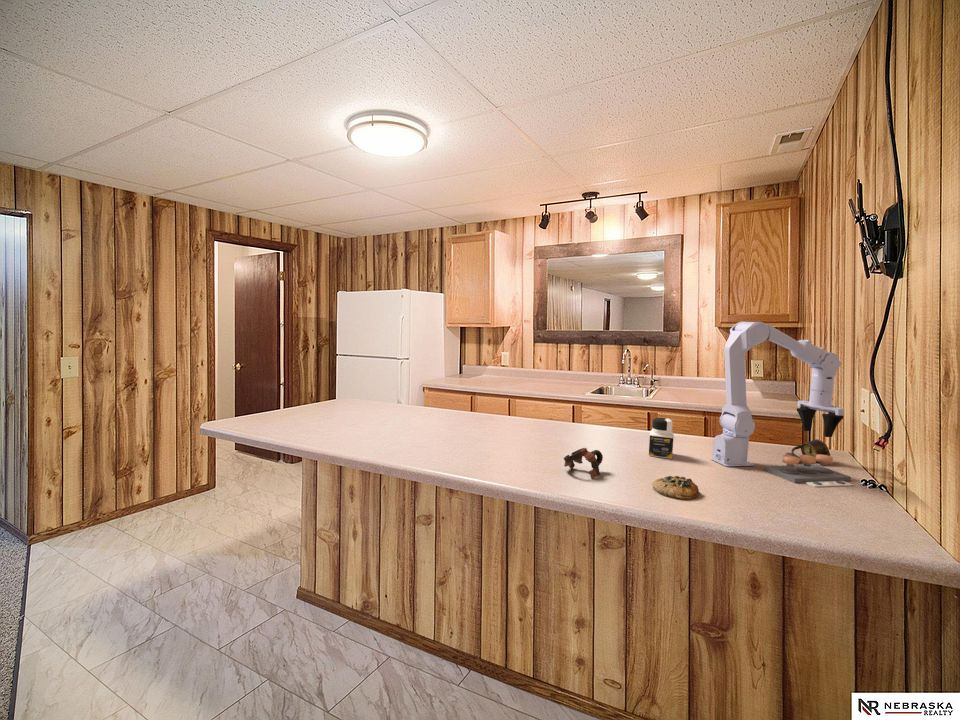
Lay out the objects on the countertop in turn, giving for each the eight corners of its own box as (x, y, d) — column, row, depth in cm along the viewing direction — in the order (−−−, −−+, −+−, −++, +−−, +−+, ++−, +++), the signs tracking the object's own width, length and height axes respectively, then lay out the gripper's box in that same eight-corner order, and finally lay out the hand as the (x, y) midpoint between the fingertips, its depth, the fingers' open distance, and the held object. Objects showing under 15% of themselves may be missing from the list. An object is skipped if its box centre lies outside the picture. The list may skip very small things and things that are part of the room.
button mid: (806, 467, 136) (807, 459, 136) (795, 463, 140) (796, 454, 139) (819, 467, 136) (819, 458, 136) (807, 463, 140) (808, 454, 140)
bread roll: (694, 486, 126) (695, 468, 125) (703, 507, 116) (704, 488, 115) (649, 483, 129) (650, 466, 128) (654, 504, 119) (655, 485, 117)
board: (794, 482, 131) (794, 477, 131) (764, 470, 142) (764, 465, 142) (850, 480, 134) (850, 475, 134) (816, 468, 145) (817, 463, 145)
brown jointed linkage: (587, 483, 128) (573, 455, 129) (567, 488, 136) (554, 461, 137) (616, 465, 134) (602, 438, 136) (595, 471, 142) (582, 445, 144)
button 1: (789, 468, 135) (790, 459, 135) (778, 464, 139) (779, 455, 139) (802, 468, 136) (803, 459, 135) (790, 463, 139) (791, 455, 139)
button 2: (823, 467, 137) (824, 458, 136) (811, 463, 141) (812, 454, 140) (835, 467, 137) (836, 458, 137) (823, 462, 141) (824, 454, 141)
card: (814, 487, 129) (814, 485, 128) (805, 483, 131) (805, 481, 131) (852, 485, 130) (852, 483, 130) (842, 481, 133) (842, 480, 133)
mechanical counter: (840, 451, 146) (825, 436, 155) (795, 444, 148) (782, 430, 157) (833, 471, 148) (818, 456, 157) (788, 464, 150) (776, 449, 159)
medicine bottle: (648, 456, 154) (650, 419, 153) (649, 450, 160) (651, 415, 159) (672, 459, 151) (674, 422, 150) (672, 453, 158) (674, 417, 156)
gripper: (854, 394, 141) (849, 439, 142) (812, 387, 155) (808, 428, 156) (834, 394, 140) (829, 439, 141) (793, 386, 154) (789, 428, 155)
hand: (817, 433), depth 149 cm, fingers open, 7 cm apart
